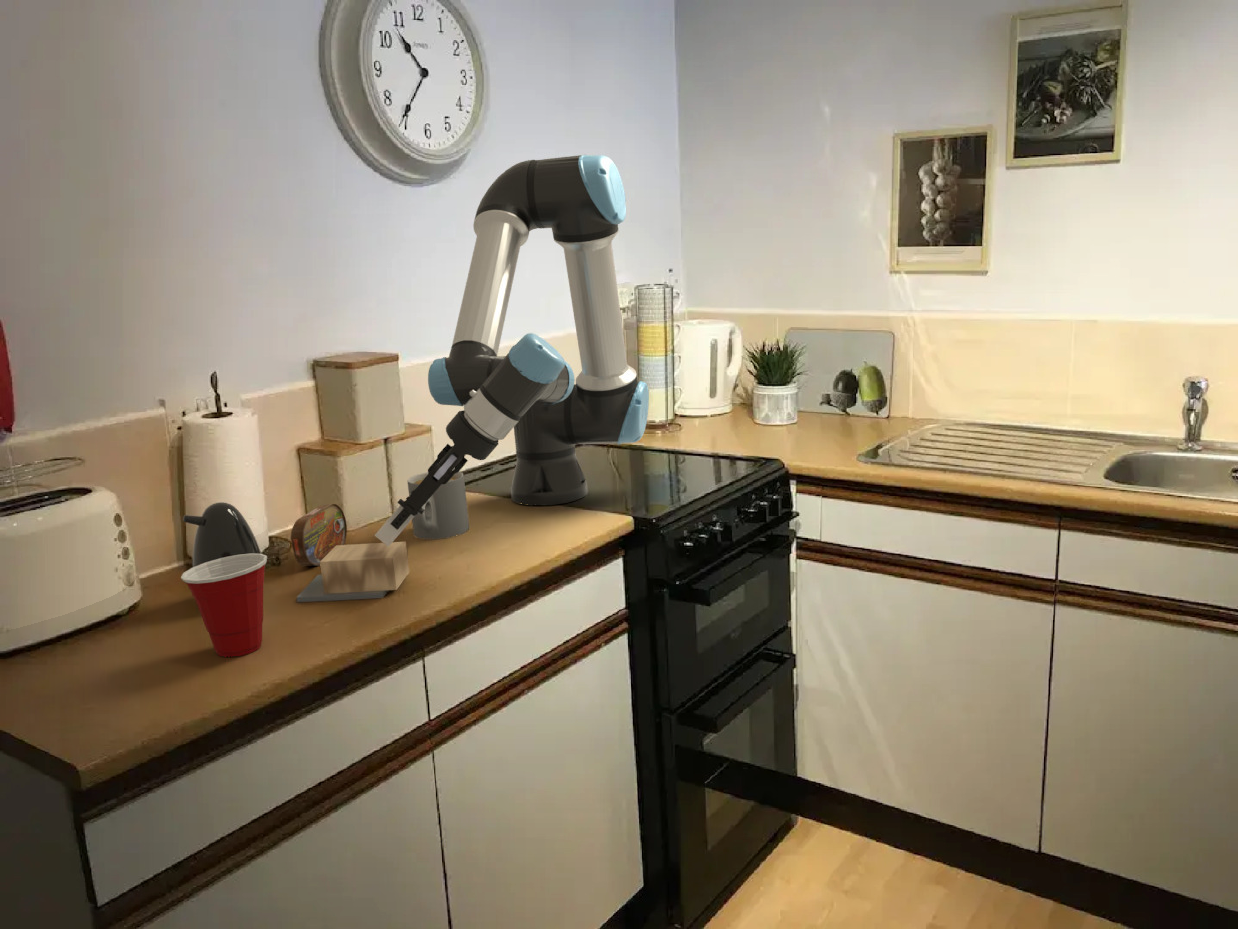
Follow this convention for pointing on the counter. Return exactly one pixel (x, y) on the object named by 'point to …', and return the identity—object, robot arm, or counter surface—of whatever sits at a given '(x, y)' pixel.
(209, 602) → the plastic cup
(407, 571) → the oak block
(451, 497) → the coffee mug
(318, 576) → the plate
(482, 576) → the counter surface
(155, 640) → the counter surface
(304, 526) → the tin
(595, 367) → the robot arm
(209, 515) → the pump dispenser
